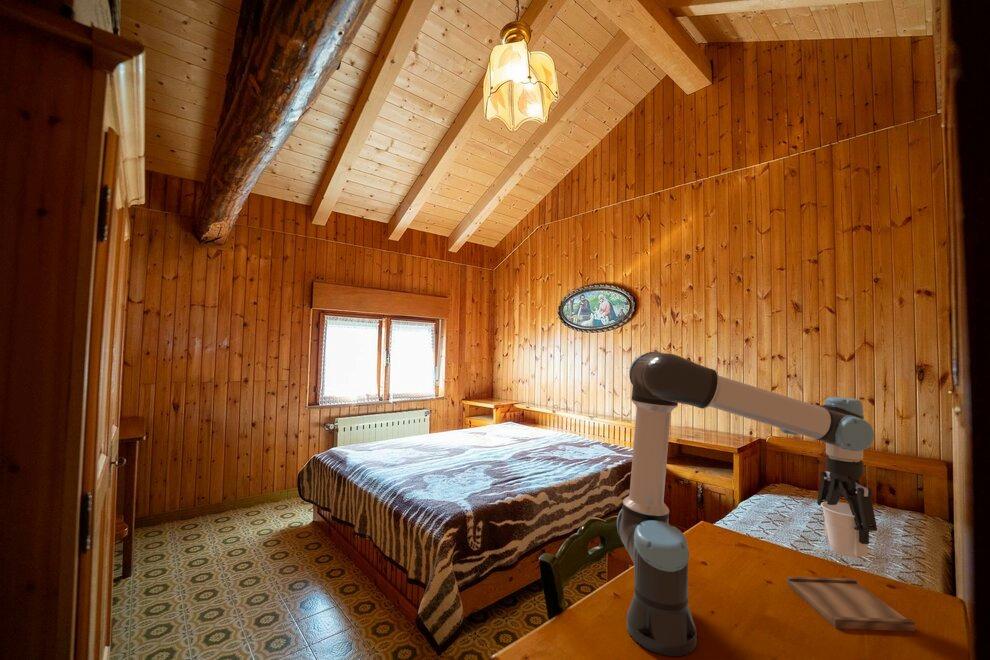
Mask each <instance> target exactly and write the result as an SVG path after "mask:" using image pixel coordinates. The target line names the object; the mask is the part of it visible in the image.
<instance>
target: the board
mask: <svg viewBox="0 0 990 660" xmlns="http://www.w3.org/2000/svg"><path fill="white" fill-rule="evenodd" d="M786 585H787V586H788V587H789V588H791V589H792V590H793V591H794V592H795V593H796V594H797V596H799V597H800V598H802V599H803V601H805V602H806V603H807V604H808V605H809V606H811V607H812V608H813V610H815V611H816V612H817V613H818V614H819V615H820V616H821V617H823V618H824V619H825V621H826V622H827V623H829V624H830V625H831V626H833V628H835V629H844V630H845V629H847V630H852V629H853V630H875V631H879V630H880V631H900V632H915V631H916V622H915V621H914V620H913V619H911V618H909V619H908V618H906V617H905V616H903V615H902V614H900V613H899V612H898V611H896V610H895V609H894V608H892V607H891V606H889V604H887V603H886V602H884V601H882V600H881V598H878V597H877V596H875V595H874V594H873V593H871V591H869V590H868V589H866V588H864V587H863V586H862V585H860V584H859V583H858V580H857V579H855V578H845V577H843V578H840V577H813V576H812V577H811V576H786Z"/></svg>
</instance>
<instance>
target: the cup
mask: <svg viewBox="0 0 990 660" xmlns="http://www.w3.org/2000/svg"><path fill="white" fill-rule="evenodd" d="M827 503H828V502H822V503H821V505H820V506H821V509H822V508H823V509H822V512H823V519H824V518H825V523H826V528H827V533H828V543H829V547H830V548H831V549H832V550H833V551H834V552H835V553H837V554H839V555H842V556H846V557H850V558H851V557H853V558H857V557H859V556H856V555H854V528H855V527H857V526H856V524H855V521H854V518H855V516H853V515H852V512H851V509H850V506H849V503H848V502H847V503H846V502H842V501H838V503H837V505H828V504H827ZM861 525H862V523H861Z"/></svg>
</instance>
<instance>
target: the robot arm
mask: <svg viewBox="0 0 990 660" xmlns="http://www.w3.org/2000/svg"><path fill="white" fill-rule="evenodd" d="M629 367H630V368H629V371H628V372H629V373H628V374H629V375H628V377H629V381H630V383H631V386H632V387H631V388H632V389H631V402H632V403H633V404H634V406H635V408H636V410H635V412H636V413H635V423H634V424H635V425H634V437H633V448H632V461H631V473H630V474H631V475H630V485H629V495H628V496H626V497H624V498H623V499H622V507H621V509H620V511H619V512H618V515H617V518H616V528H617V533H618V537H619V539H620V541H621V543H622V544H623V545H624V548H625V550H626V551H627V553H628V555H629V557H630V559H631V561H632V562H633V566H634V569H633V570H634V571H633V573H634V578H633V579H634V583H633V584H634V592H633V596H632V598H631V602H630V605H629V607H628V609H627V614H626V629H628V630H627V632H628V634H629V633H630V634H629V636H630V635H631V636H632V637H631V636H630V637H631V638H632V639H633V641H634V642H636V643H637V642H638V643H639V644H638V643H637V644H638V645H640V644H641V645H642V646H643V648H644V647H645V648H644V649H646V650H648V649H649V650H648V651H650V652H653V653H654V654H658V655H662V656H668V657H681V656H686V655H688V654H690V653H692V652H693V651H695V649H696V647H697V638H698V636H697V628H696V625H695V621H694V618H693V615H692V612H691V609H690V606H689V558H690V552H689V545H688V540H687V537H686V536H685V534H684V533H683V532H682V531H681V530H680V529H679V528H677V527H676V526H674V525H670V523H669V519H670V518H669V517H670V509H669V507H668V506H667V504H666V503H665V501H664V500H665V487H666V477H667V476H666V475H667V466H668V465H667V463H668V451H669V450H668V449H669V442H670V441H669V440H670V439H669V438H670V428H671V427H670V426H671V417H672V416H671V415H672V414H671V413H672V411H674V409H676V408H678V407H679V406H678V405H679V404H683V405H686V406H692V407H696V408H699V409H701V410H704V409H705V410H706V409H707V408H713V409H716V410H719V411H723V412H726V413H730V414H733V415H736V416H739V417H743V418H746V419H749V420H751V421H755V422H759V423H762V424H765V425H768V426H770V427H771V426H772V427H775V428H778V430H780V431H781V432H782V433H784V434H785V435H793V436H796V435H801V436H804V437H807V438H810V439H814V440H816V441H820V442H823V443H825V454H826V457H825V469H826V471H825V470H824V471H822V470H821V471H820V480H821V481H820V484H819V490H818V495H817V501H816V504H817V505H818V506H821V503H822V502H828V503H827V504H828V505H837V503H838V502H840V499H841V496H843V498H844V500H845V501H847V504H849V506H850V509H851V512H852V515H853V516H855V518H854V521H855V524H856V526H857V527H855V528H854V555H856V556H858V557H869V544H870V539H869V538H870V532H877V531H878V526H877V522H876V516H875V511H874V506H873V501H872V488H870V487H865V486H862V484H861V481H860V479H861V477H863V476H864V475H865V471H864V470H865V469H864V467H865V463H864V462H863V459H864V451H865V450H867V449H868V448H869V447H870V446H872V444H873V442H874V438H875V431H874V427H873V426H872V425H871V424H870V423H869V422H868V421H867V420H865V419H864V418H865V416H864V407H863V403H862V401H861V400H859V399H858V398H854V397H844V396H829V397H826V398H825V402H824V404H822V405H821V404H820V405H817V404H812V403H809V402H805V401H803V400H800V399H796V398H792V397H789V396H787V395H783V394H780V393H777V392H773V391H770V390H767V389H763V388H760V387H757V386H754V385H750V384H747V383H744V382H741V381H738V380H735V379H731V378H727V377H724V376H721V375H719V373H718V371H717V370H716V369H713V368H710V367H708V366H707V367H706V366H703V365H701V364H698V363H696V362H693V361H691V360H689V359H688V358H685V357H682V356H680V355H677V354H673V353H668V352H667V353H665V352H658V351H648V352H645V353H641V354H640V355H638V356H637V357H636V358H635V359H634V360H633V361H632V363H631V364H630V366H629ZM821 510H823V508H822V507H821ZM823 521H824V534H823V535H824V536H825V537H826V538H827V537H828V533H827V528H826V523H825V518H824V517H823ZM861 523H862V525H861ZM828 538H829V537H828ZM641 645H640V646H641ZM642 646H641V647H642Z"/></svg>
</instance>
